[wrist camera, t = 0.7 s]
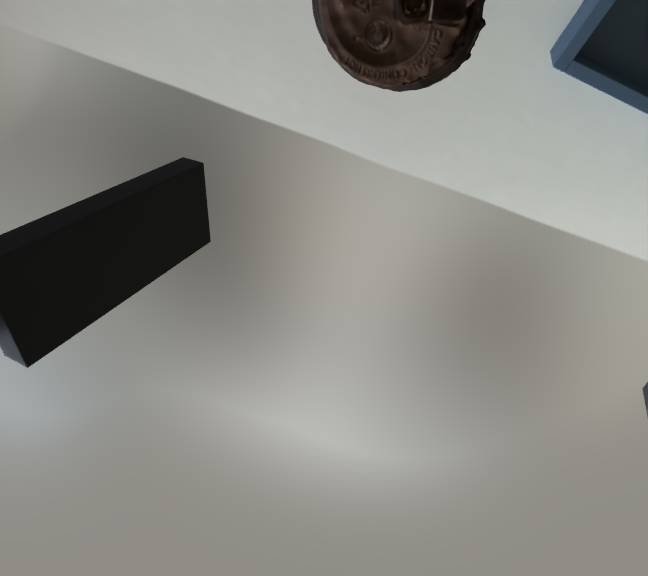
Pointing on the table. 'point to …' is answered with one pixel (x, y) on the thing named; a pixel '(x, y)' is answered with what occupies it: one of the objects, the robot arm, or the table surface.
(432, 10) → the coffee cup
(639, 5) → the tray
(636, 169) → the table surface
